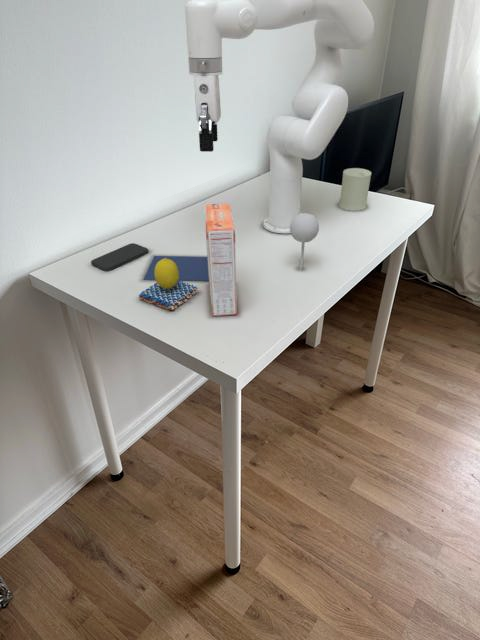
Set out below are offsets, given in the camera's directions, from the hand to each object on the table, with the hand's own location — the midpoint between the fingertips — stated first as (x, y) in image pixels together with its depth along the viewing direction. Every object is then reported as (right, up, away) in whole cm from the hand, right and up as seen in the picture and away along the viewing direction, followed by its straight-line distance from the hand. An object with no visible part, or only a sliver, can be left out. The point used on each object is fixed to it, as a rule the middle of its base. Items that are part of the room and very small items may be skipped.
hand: (209, 145), depth 111 cm
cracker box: (+3, -38, -5) cm, 39 cm away
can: (+46, -4, +44) cm, 64 cm away
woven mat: (-9, -38, -4) cm, 39 cm away
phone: (-25, -26, +13) cm, 38 cm away
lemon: (-9, -36, -5) cm, 37 cm away
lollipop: (+24, -30, +7) cm, 39 cm away
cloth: (-7, -29, +8) cm, 31 cm away
